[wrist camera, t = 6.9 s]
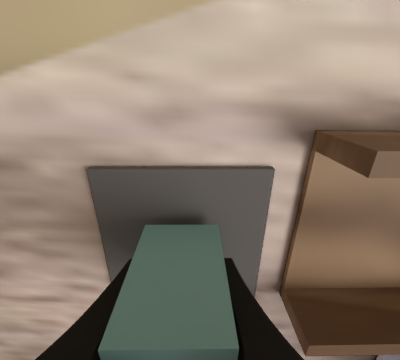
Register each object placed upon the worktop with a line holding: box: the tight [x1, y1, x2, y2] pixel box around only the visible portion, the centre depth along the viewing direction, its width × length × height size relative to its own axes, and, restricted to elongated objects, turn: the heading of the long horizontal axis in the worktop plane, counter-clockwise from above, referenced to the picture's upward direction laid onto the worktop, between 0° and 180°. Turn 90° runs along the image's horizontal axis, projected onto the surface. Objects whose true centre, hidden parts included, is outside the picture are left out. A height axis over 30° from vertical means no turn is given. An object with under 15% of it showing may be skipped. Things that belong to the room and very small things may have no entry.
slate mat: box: [86, 167, 275, 297], centre depth 13 cm, size 10×10×1 cm
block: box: [98, 225, 239, 360], centre depth 9 cm, size 4×4×6 cm
